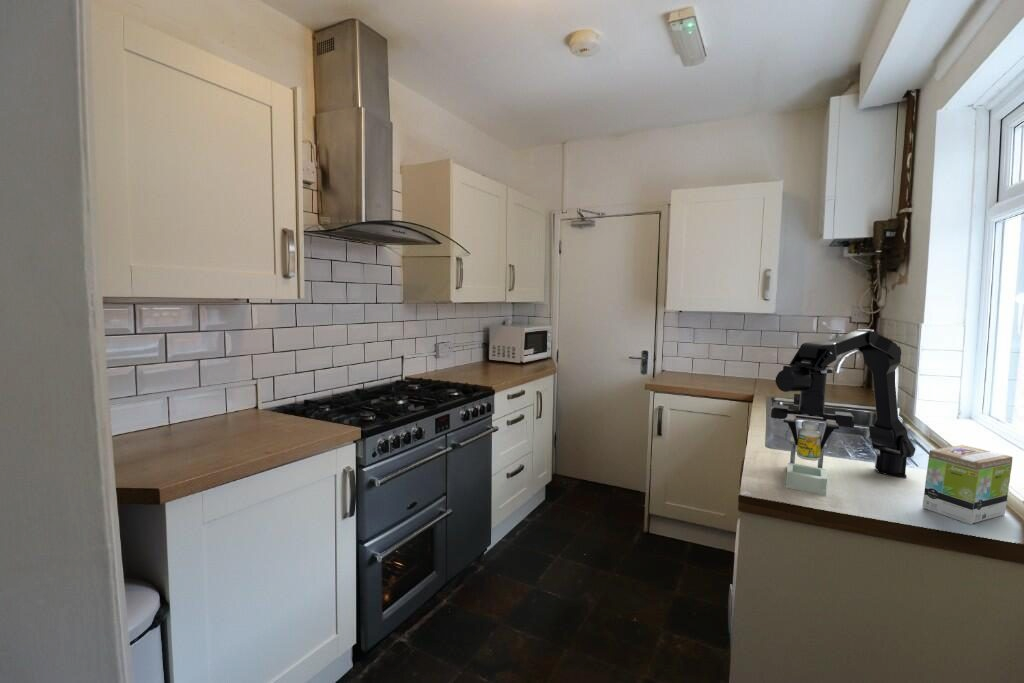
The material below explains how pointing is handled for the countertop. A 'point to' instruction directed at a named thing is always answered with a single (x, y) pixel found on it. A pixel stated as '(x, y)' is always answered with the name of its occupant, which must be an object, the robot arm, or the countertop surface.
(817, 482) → the socket block
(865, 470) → the countertop surface
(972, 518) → the tea box
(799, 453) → the supplement bottle
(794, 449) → the grey frame
